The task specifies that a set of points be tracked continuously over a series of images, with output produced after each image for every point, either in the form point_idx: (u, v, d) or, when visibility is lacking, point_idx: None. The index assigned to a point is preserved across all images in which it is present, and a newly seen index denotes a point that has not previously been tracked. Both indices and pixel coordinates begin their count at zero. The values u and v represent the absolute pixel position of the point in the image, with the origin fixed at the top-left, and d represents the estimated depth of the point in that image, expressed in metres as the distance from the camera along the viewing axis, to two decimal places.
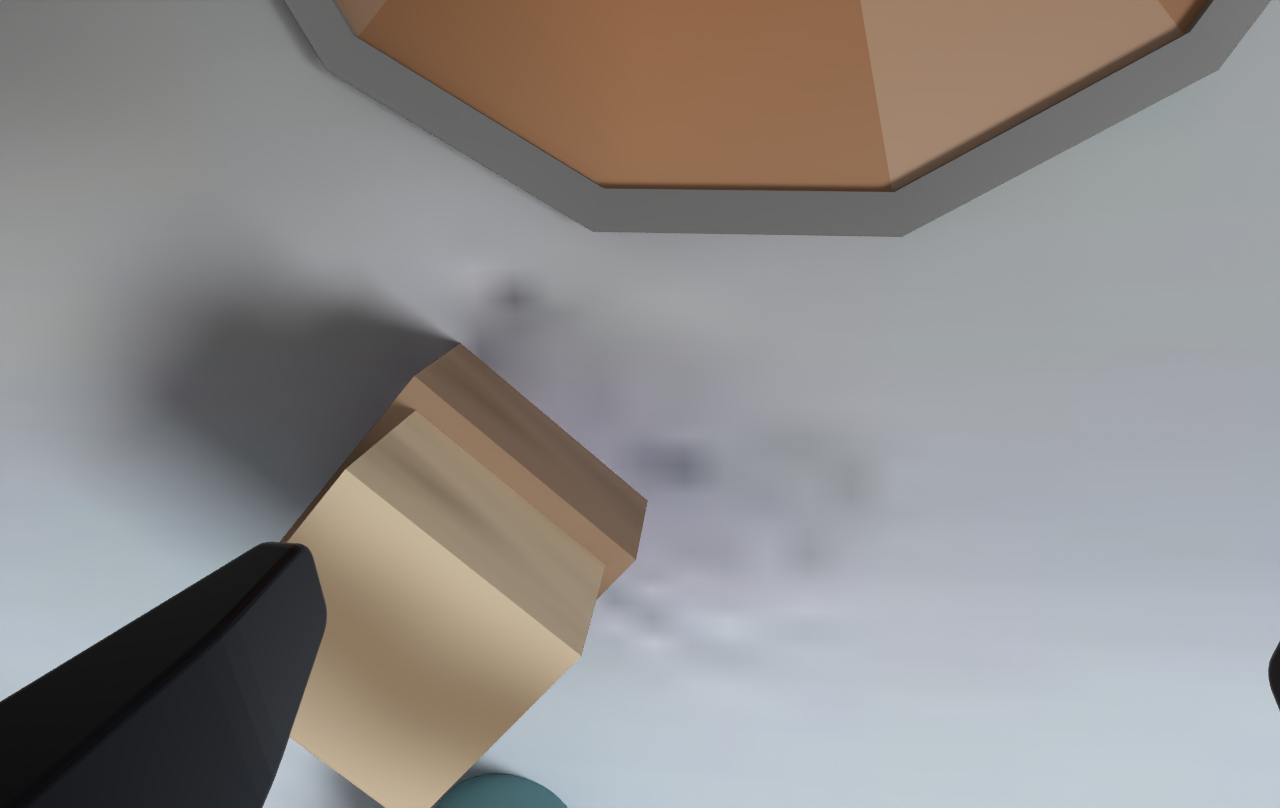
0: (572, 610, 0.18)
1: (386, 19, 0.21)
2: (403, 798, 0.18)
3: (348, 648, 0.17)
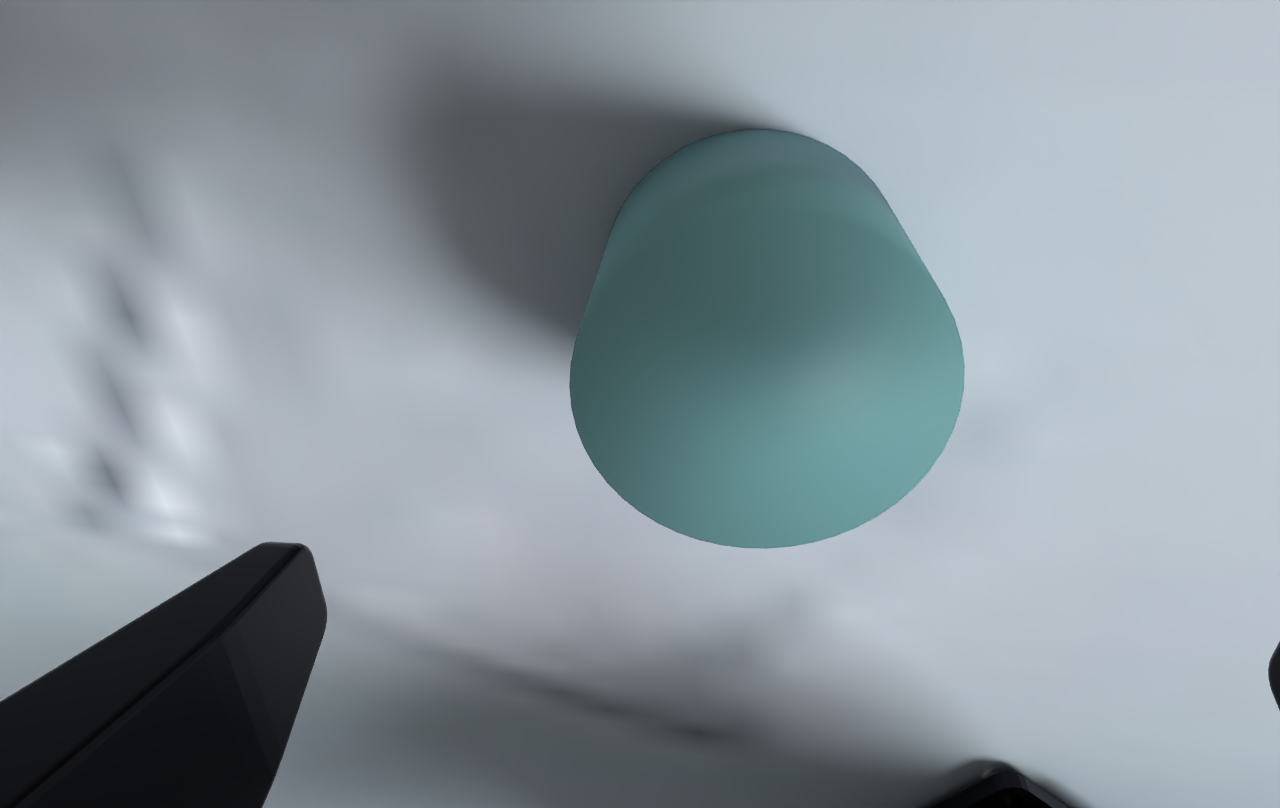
0: None
1: None
2: None
3: None
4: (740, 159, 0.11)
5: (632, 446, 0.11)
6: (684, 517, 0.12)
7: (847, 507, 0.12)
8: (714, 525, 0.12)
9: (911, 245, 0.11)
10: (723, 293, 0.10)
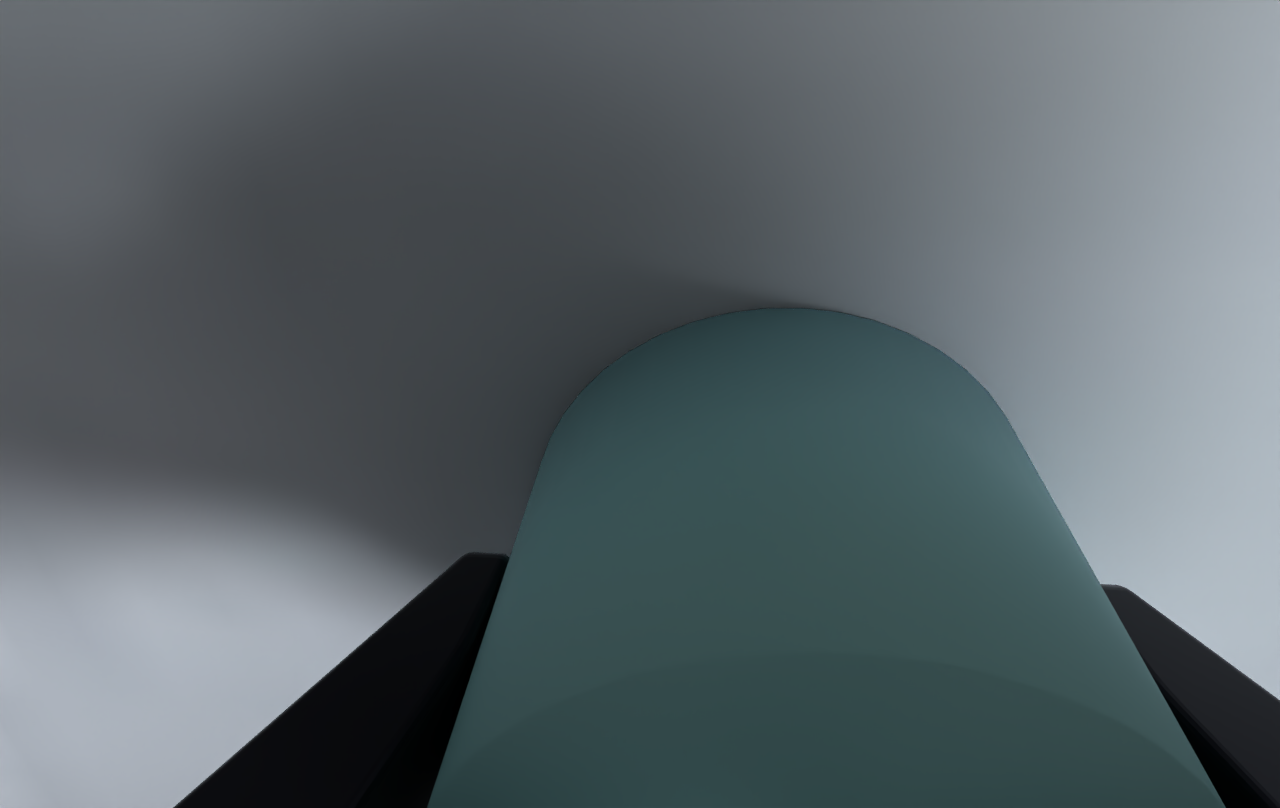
0: None
1: None
2: None
3: None
4: (759, 411, 0.06)
5: None
6: None
7: None
8: None
9: (1117, 624, 0.05)
10: (726, 788, 0.05)
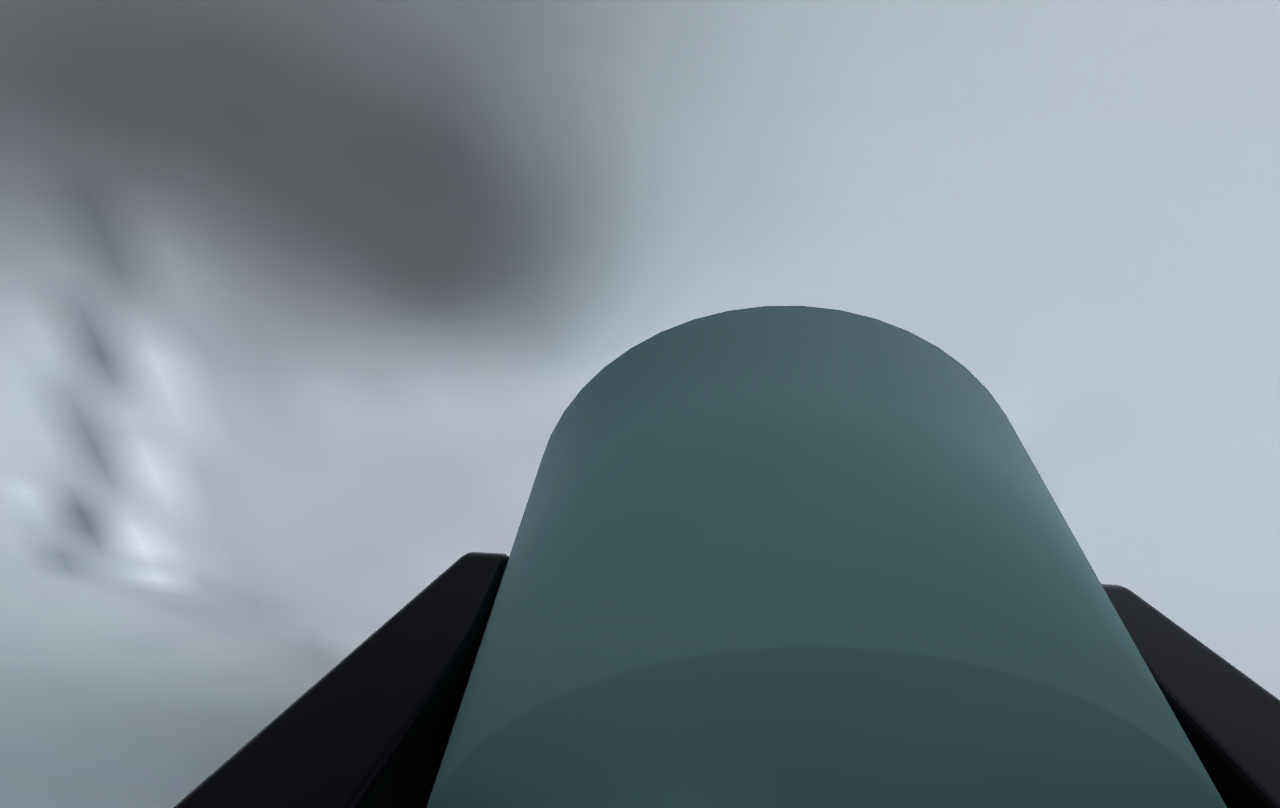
0: None
1: None
2: None
3: None
4: (758, 408, 0.06)
5: None
6: None
7: None
8: None
9: (1115, 619, 0.05)
10: (726, 783, 0.05)
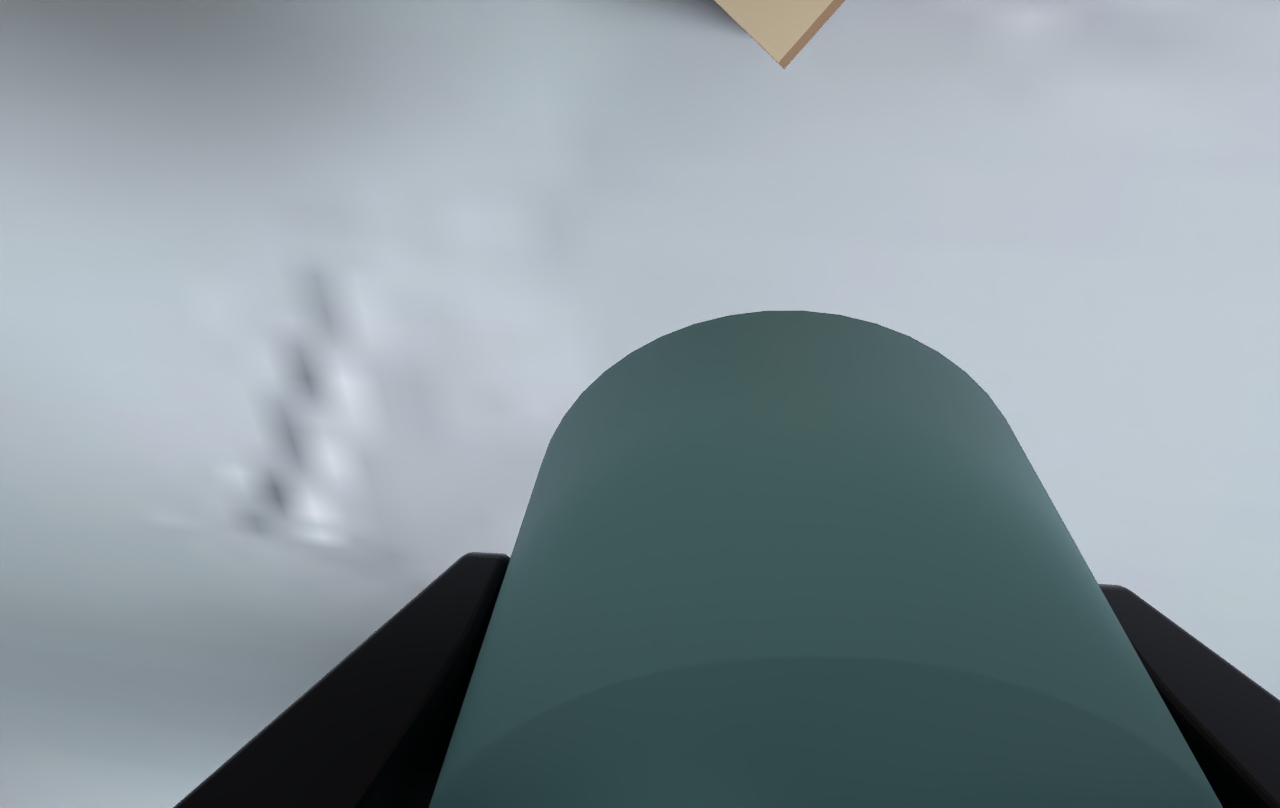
0: None
1: None
2: None
3: None
4: (758, 414, 0.06)
5: None
6: None
7: None
8: None
9: (1116, 627, 0.05)
10: (724, 789, 0.05)
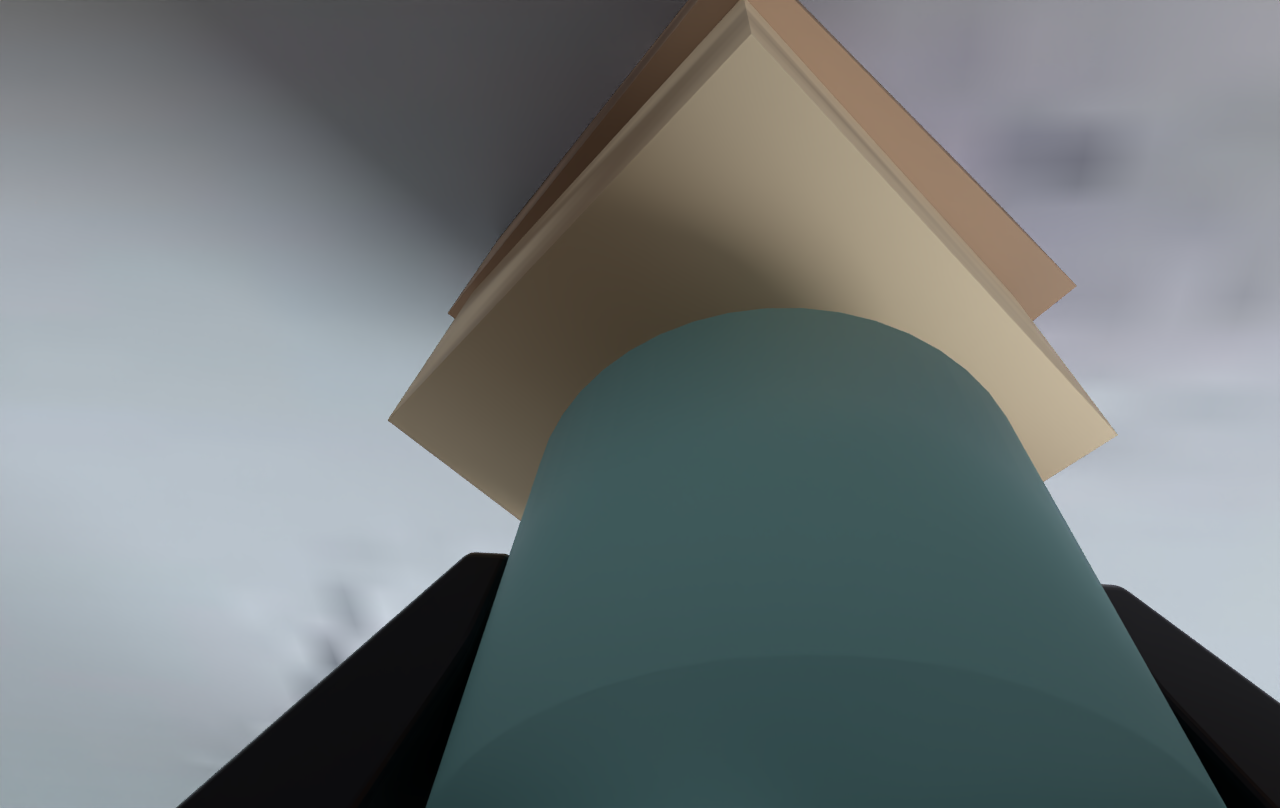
0: (1056, 358, 0.10)
1: None
2: None
3: None
4: (758, 412, 0.06)
5: None
6: None
7: None
8: None
9: (1119, 625, 0.05)
10: (725, 790, 0.04)
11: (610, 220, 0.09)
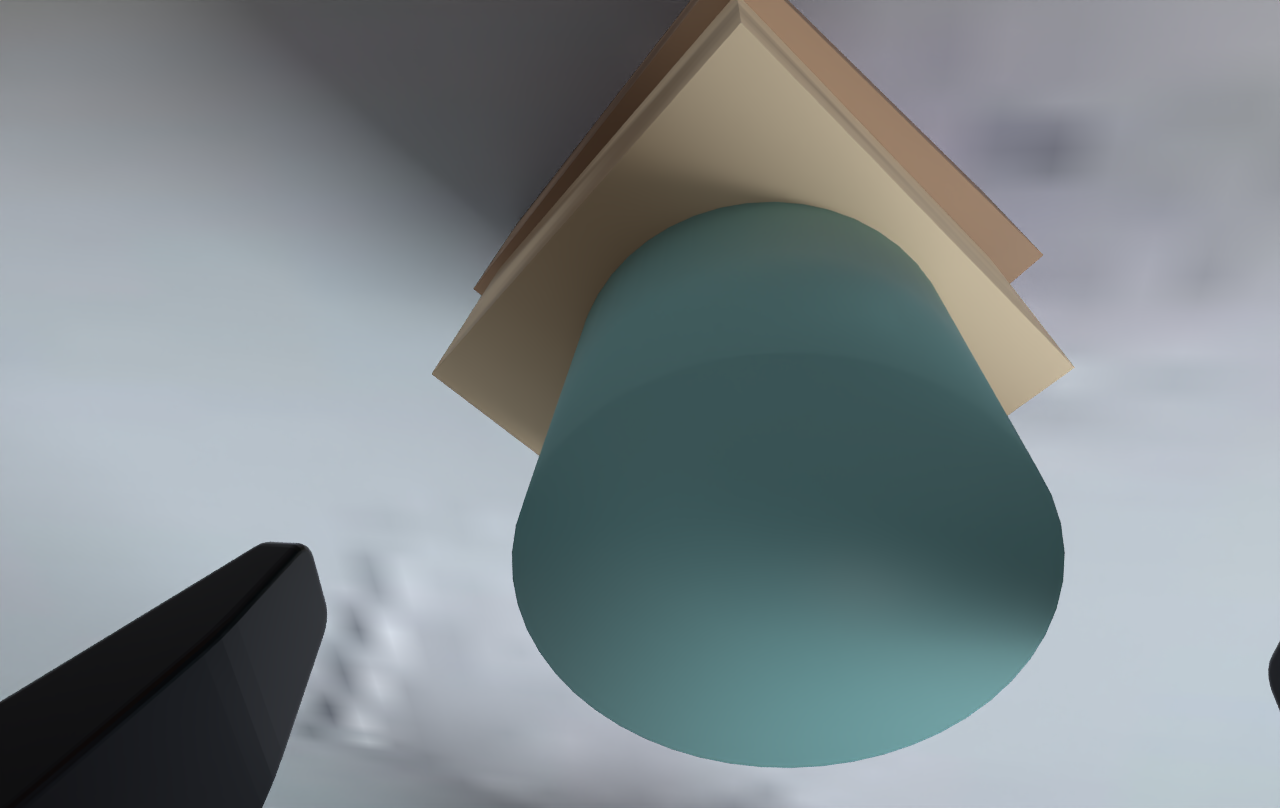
0: (1022, 305, 0.12)
1: None
2: None
3: None
4: (739, 255, 0.08)
5: (603, 650, 0.08)
6: (679, 732, 0.09)
7: (899, 722, 0.08)
8: (719, 741, 0.09)
9: (980, 376, 0.08)
10: (718, 464, 0.07)
11: (623, 187, 0.10)
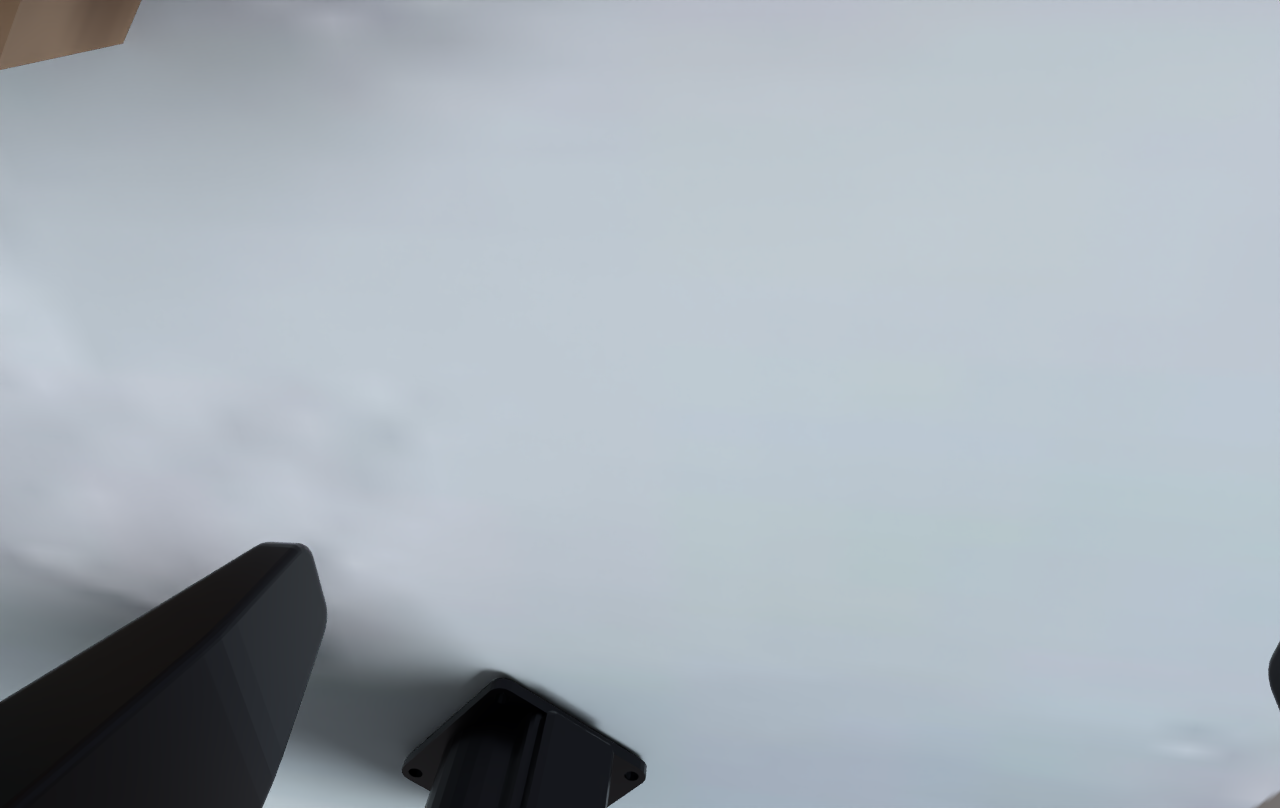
0: None
1: None
2: None
3: None
4: None
5: None
6: None
7: None
8: None
9: None
10: None
11: None
